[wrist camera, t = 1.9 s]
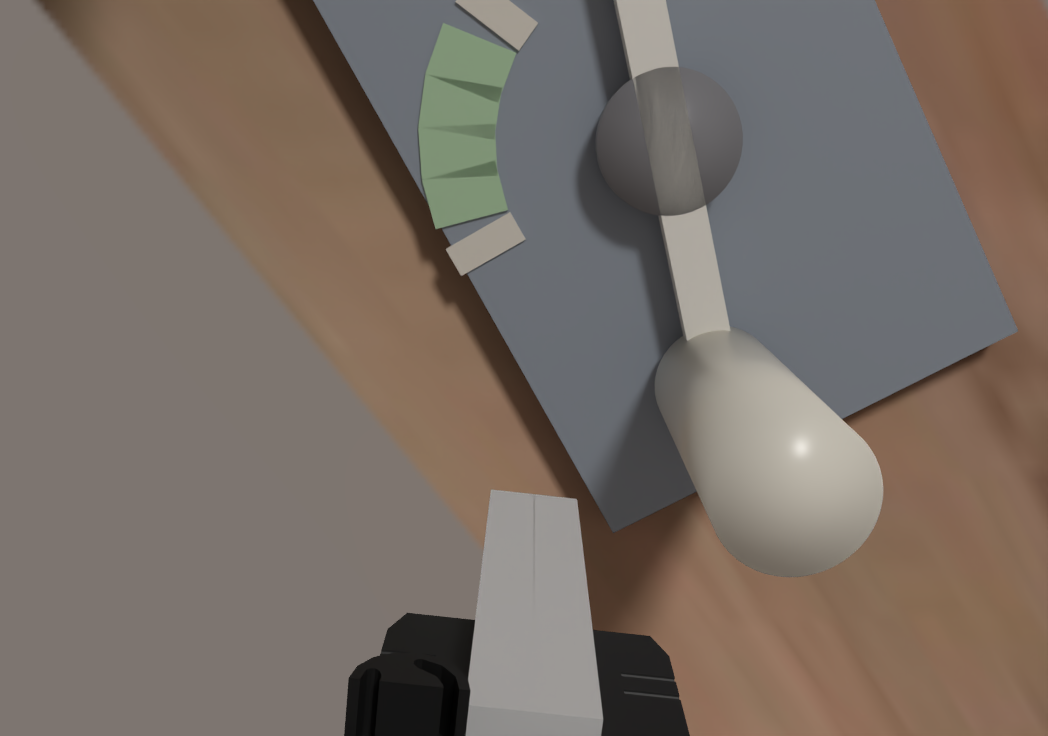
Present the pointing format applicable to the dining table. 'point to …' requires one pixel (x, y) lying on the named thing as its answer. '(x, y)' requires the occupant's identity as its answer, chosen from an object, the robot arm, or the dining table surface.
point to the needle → (727, 330)
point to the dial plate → (636, 238)
